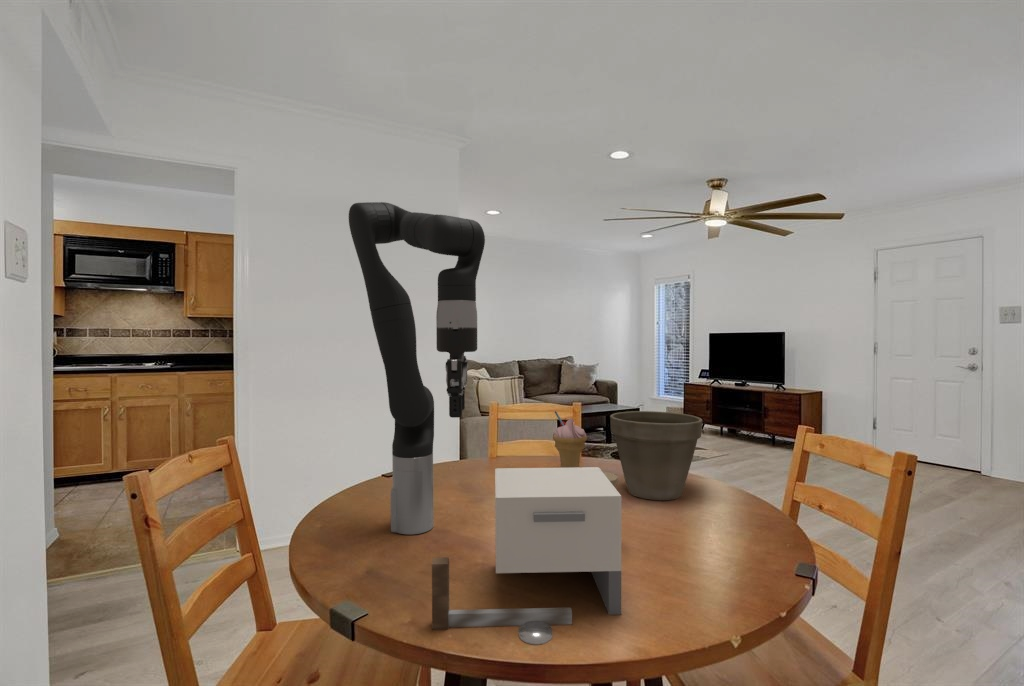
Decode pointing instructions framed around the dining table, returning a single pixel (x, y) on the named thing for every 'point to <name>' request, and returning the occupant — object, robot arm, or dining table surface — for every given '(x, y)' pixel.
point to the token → (535, 632)
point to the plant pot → (655, 451)
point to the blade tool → (483, 617)
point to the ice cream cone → (569, 443)
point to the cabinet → (560, 525)
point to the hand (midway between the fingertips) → (457, 413)
